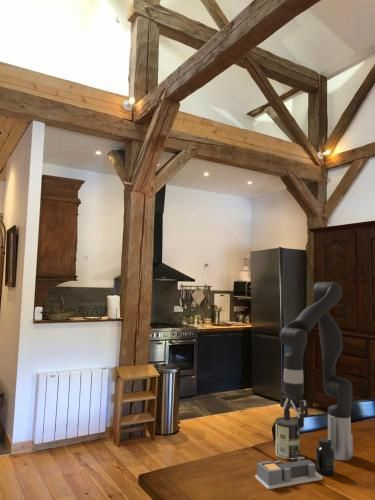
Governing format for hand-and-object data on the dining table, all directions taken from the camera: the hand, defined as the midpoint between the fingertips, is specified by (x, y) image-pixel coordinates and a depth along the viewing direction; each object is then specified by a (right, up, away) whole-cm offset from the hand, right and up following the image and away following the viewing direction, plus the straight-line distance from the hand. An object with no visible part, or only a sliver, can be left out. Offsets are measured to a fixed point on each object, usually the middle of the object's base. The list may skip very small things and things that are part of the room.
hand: (293, 423), depth 148 cm
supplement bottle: (+13, -21, +3) cm, 25 cm away
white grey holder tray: (-2, -19, -3) cm, 20 cm away
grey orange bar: (-2, -19, -2) cm, 19 cm away
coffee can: (+2, -22, +18) cm, 29 cm away
